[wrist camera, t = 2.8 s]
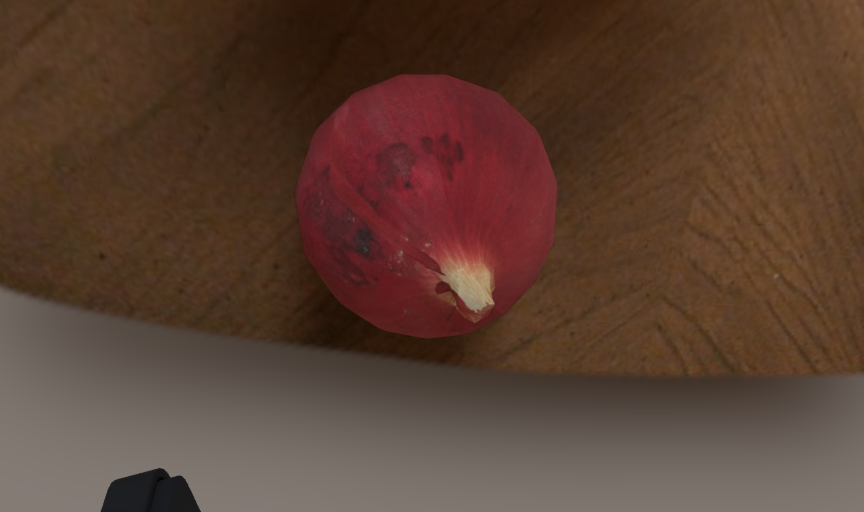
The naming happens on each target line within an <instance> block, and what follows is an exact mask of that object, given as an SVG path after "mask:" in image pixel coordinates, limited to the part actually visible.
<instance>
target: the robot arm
mask: <svg viewBox="0 0 864 512" xmlns="http://www.w3.org/2000/svg"><path fill="white" fill-rule="evenodd" d="M101 512H201V511H200V509H199V507H198V505H197V503H196V501H195V499H194V496H193V494H192V492H191V490H190V488H189V486H188V484H187V482H186V480H185V479H184V478H183V477H182V476H176V477H172V478H170V476H169V474H168V473H167V472H166V471H165V470H164V469H161V468H158V469H154V470H151V471H147V472H143V473H139V474H136V475H132V476H128V477H124V478H121V479H117V480H115V481H113V482H112V483H111V484H110V487H109V489H108V491H107V494H106V497H105V500H104V503H103V507H102V509H101Z"/></svg>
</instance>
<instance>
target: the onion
mask: <svg viewBox="0 0 864 512" xmlns="http://www.w3.org/2000/svg"><path fill="white" fill-rule="evenodd" d="M294 194H295V201H296V207H297V214H298V220H299V227H300V233H301V240H302V244H303V248H304V252H305V255H306V258H307V259H308V261H309V262H310V263H311V265H312V266H313V267H314V269H315V270H316V272H317V273H318V274H319V276H320V277H321V278H322V280H323V281H324V283H325V284H326V285H327V287H328V288H329V289H330V291H331V292H332V293H333V295H334V296H335V297H336V298H337V300H338V301H339V302H340V303H341V304H342V305H343V306H345V307H347V308H348V309H350V310H351V311H353V312H354V313H356V314H357V315H359V316H361V317H362V318H364V319H365V320H367V321H368V322H370V323H371V324H373V325H375V326H376V327H378V328H380V329H382V330H385V331H388V332H393V333H399V334H404V335H410V336H415V337H421V338H426V339H427V338H436V337H445V336H455V335H464V334H469V333H471V332H473V331H475V330H477V329H479V328H480V327H482V326H484V325H486V324H488V323H490V322H491V321H493V320H495V319H497V318H499V317H500V316H502V315H504V314H505V313H506V312H507V311H508V310H509V309H510V308H511V307H512V306H513V305H514V304H515V303H516V302H517V301H518V300H519V299H520V298H521V296H522V295H523V294H524V293H525V292H526V291H527V290H528V289H529V288H530V287H531V286H532V285H533V283H534V282H535V281H536V279H537V277H538V275H539V272H540V270H541V268H542V266H543V264H544V262H545V260H546V257H547V255H548V253H549V251H550V249H551V247H552V245H553V243H554V232H555V217H556V202H557V181H556V178H555V176H554V173H553V170H552V167H551V165H550V162H549V159H548V156H547V154H546V151H545V148H544V146H543V143H542V140H541V137H540V136H539V134H538V133H537V131H536V130H535V128H534V127H533V126H532V125H531V124H530V123H529V122H528V121H527V120H526V119H525V118H524V117H523V116H522V115H521V114H520V113H519V112H518V111H517V110H516V109H515V108H514V107H512V106H511V105H510V104H509V103H508V102H507V101H506V100H505V99H504V98H503V97H502V96H501V95H500V94H499V93H497V92H494V91H492V90H489V89H486V88H483V87H480V86H477V85H474V84H471V83H469V82H466V81H463V80H460V79H457V78H454V77H452V76H449V75H446V74H400V75H398V76H395V77H393V78H390V79H387V80H385V81H382V82H380V83H377V84H375V85H372V86H370V87H367V88H365V89H362V90H360V91H357V92H355V93H353V94H352V95H351V96H350V97H349V98H348V99H347V100H346V101H345V102H344V103H343V104H342V105H341V106H340V107H339V108H338V109H337V110H335V111H334V112H333V113H332V114H331V115H330V116H329V117H328V118H327V119H326V120H325V121H324V122H323V123H322V124H321V125H320V126H319V127H318V128H317V129H316V131H315V133H314V136H313V138H312V141H311V144H310V147H309V150H308V153H307V156H306V158H305V161H304V164H303V167H302V170H301V173H300V176H299V179H298V182H297V185H296V188H295V190H294Z"/></svg>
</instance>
